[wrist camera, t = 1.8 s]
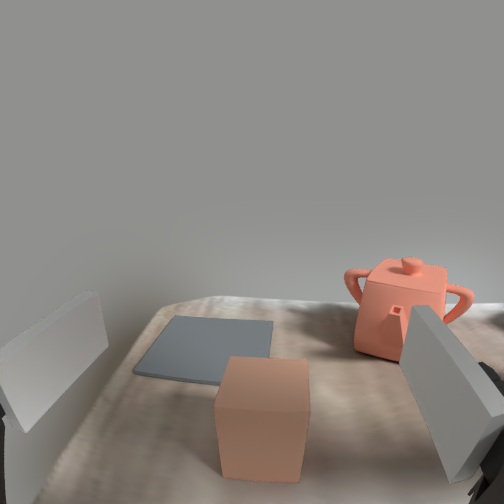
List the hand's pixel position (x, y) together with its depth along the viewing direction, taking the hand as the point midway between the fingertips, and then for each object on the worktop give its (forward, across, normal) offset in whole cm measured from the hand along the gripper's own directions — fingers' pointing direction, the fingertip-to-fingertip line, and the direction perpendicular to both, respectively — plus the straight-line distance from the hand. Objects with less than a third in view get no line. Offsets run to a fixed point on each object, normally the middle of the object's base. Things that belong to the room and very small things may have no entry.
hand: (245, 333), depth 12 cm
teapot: (+31, +19, -20) cm, 41 cm away
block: (+10, 0, -20) cm, 22 cm away
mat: (+30, -10, -20) cm, 37 cm away
